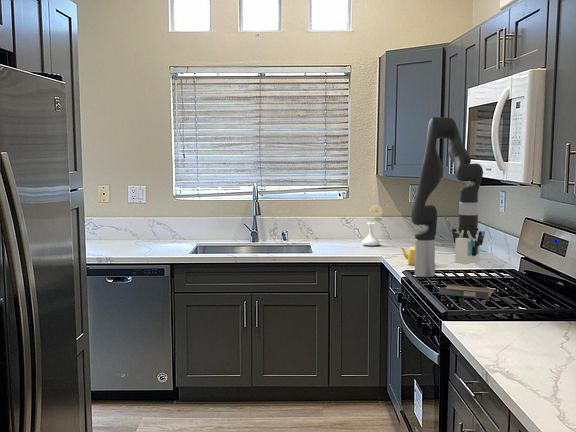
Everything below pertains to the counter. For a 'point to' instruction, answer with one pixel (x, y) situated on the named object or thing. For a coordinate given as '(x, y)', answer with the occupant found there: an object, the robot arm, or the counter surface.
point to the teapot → (410, 255)
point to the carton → (465, 251)
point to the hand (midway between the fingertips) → (467, 254)
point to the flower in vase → (371, 239)
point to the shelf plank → (466, 291)
